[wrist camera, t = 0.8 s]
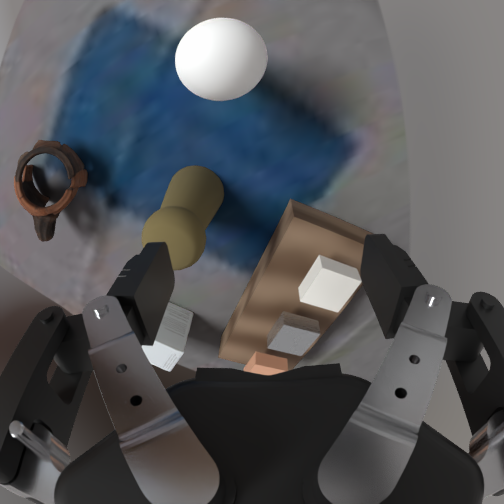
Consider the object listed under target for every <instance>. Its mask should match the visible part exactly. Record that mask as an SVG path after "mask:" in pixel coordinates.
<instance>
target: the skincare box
mask: <svg viewBox="0 0 504 504" xmlns="http://www.w3.org/2000/svg"><path fill="white" fill-rule="evenodd" d="M192 318H193V312H191V311H189V310H187V309H184V308H182V307H180V306H177V305H175V304H173V303H171V302H168V305H167V308H166V310H165V313H164V316H163V319H162V322H161V324H160V327H159V330H158V333H157V336H156V339H155V341H154V344H153V346H145V345H142V349H143V351H144V353H145V355H146V356H147V358H148V360H149V362H150V364H153V365H155V366H157V367H160V368H162V369H164V370H167V371H171V370H172V368H173V367H174V366H175V364H176V363H177V362H178V360H179V359H180V358H181V356H182V355H183V353H184V351H185V346H186V342H187V338H188V334H189V330H190V326H191V322H192Z"/></svg>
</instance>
